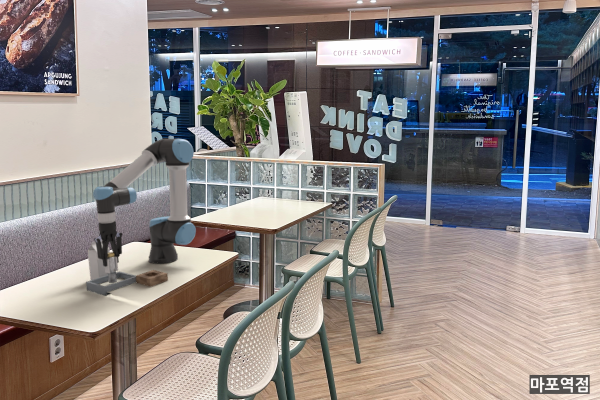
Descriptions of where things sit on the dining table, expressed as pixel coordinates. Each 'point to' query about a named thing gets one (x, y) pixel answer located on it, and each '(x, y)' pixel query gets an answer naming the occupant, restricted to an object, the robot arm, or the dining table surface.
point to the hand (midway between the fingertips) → (111, 271)
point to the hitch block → (151, 278)
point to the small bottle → (112, 268)
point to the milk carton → (95, 262)
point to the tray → (103, 290)
